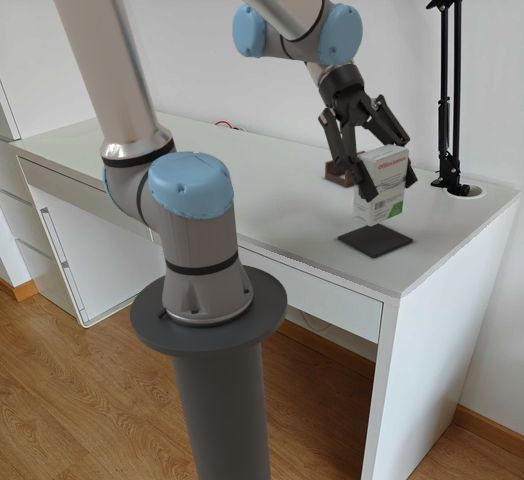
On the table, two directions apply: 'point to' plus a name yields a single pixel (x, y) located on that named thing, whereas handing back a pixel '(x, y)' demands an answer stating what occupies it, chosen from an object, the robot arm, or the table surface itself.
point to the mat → (375, 239)
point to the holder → (333, 174)
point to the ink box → (382, 184)
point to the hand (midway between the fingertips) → (392, 191)
